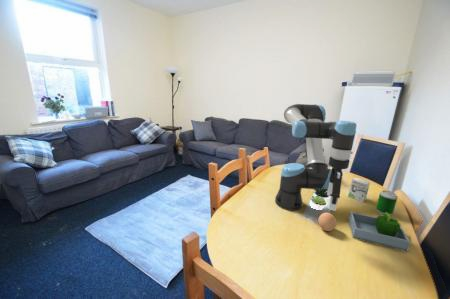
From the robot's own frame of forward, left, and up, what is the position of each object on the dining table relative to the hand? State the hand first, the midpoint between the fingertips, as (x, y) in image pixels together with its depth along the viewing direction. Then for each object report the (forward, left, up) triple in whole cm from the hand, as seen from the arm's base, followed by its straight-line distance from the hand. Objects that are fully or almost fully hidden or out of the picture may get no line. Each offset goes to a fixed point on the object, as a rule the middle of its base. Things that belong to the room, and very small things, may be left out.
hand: (331, 202), depth 94 cm
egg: (0, 0, -15) cm, 15 cm away
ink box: (+19, +42, -15) cm, 48 cm away
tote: (+21, +6, -15) cm, 26 cm away
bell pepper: (+25, +7, -14) cm, 29 cm away
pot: (-10, +68, -15) cm, 70 cm away
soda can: (+30, +30, -15) cm, 45 cm away
